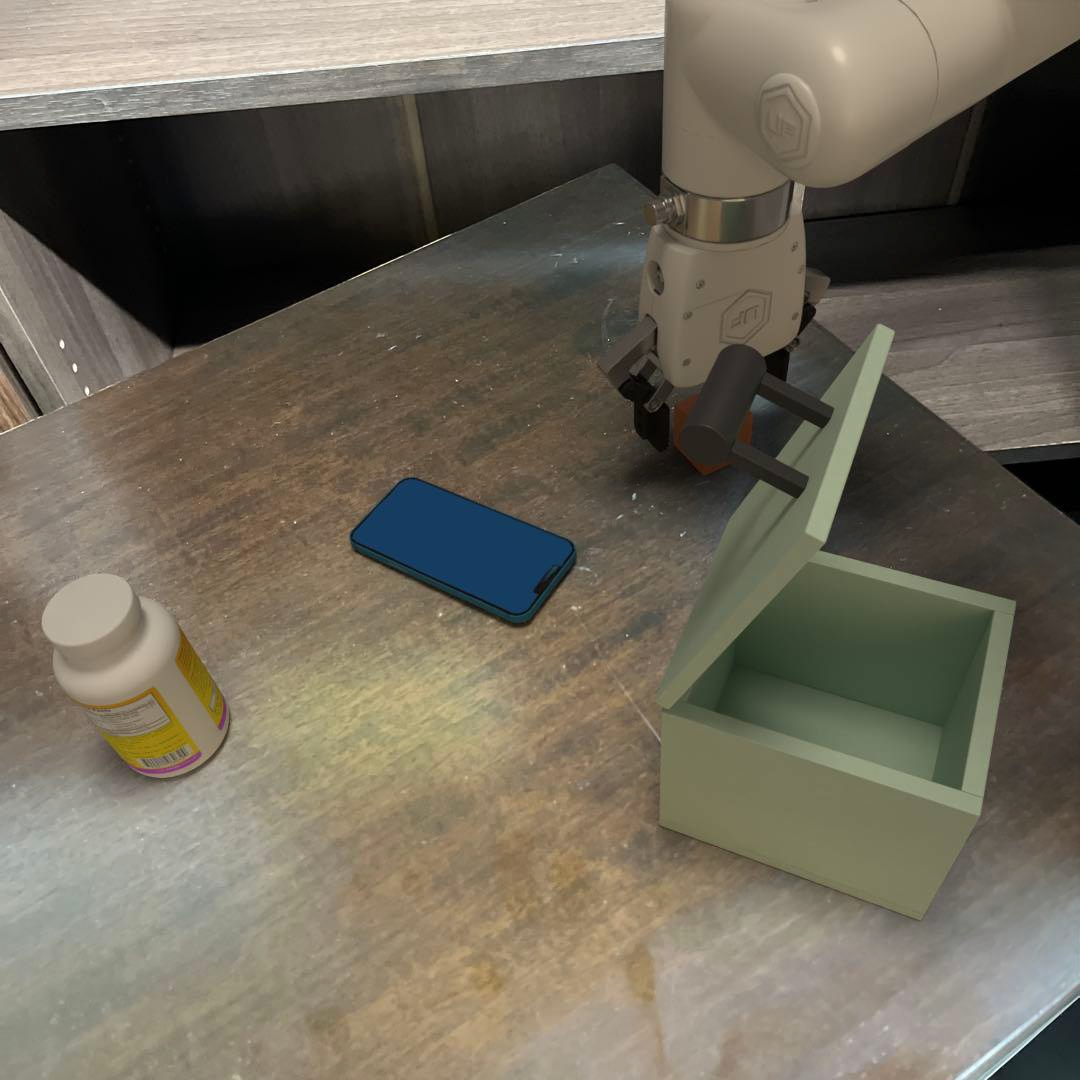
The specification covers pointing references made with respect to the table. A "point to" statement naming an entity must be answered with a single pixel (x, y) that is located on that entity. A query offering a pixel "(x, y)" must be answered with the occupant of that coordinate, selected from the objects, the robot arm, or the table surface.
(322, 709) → the table surface
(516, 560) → the smartphone
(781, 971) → the table surface
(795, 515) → the box lid
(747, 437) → the block
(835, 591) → the green box
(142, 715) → the supplement bottle
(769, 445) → the table surface
